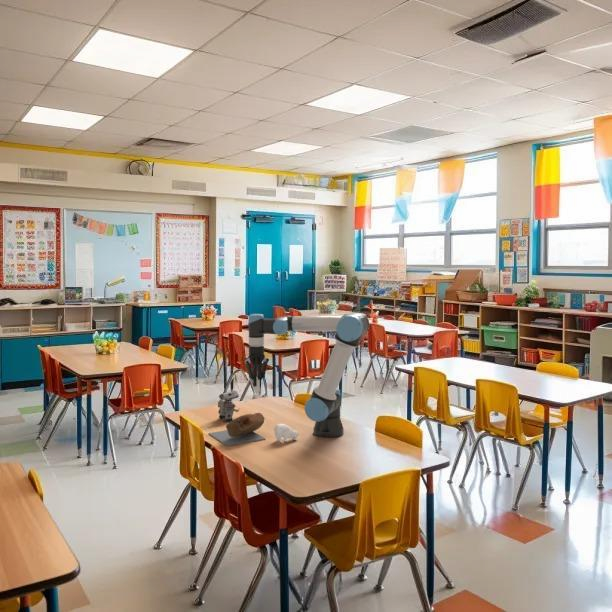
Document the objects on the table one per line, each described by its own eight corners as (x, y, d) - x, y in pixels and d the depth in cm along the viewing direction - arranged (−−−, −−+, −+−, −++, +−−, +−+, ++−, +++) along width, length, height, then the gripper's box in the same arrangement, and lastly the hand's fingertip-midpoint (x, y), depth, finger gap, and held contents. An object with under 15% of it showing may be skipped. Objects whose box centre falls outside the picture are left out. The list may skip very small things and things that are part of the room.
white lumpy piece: (273, 422, 286) (296, 422, 291) (271, 440, 287) (294, 439, 292) (278, 426, 280) (301, 425, 285) (276, 443, 281) (299, 443, 286)
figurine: (242, 419, 323) (242, 392, 322) (222, 422, 317) (222, 394, 316) (235, 415, 331) (235, 389, 329) (216, 418, 325) (215, 391, 323)
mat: (265, 439, 288) (265, 438, 288) (227, 446, 278) (227, 445, 278) (245, 428, 307) (245, 427, 307) (208, 434, 296) (208, 433, 296)
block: (253, 432, 301) (229, 439, 283) (246, 419, 303) (222, 425, 285) (268, 422, 296) (244, 428, 279) (261, 409, 299) (237, 414, 281)
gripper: (264, 343, 301) (265, 389, 303) (241, 345, 294) (242, 392, 296) (271, 345, 294) (272, 392, 296) (247, 347, 288) (248, 395, 289)
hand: (257, 392), depth 296 cm, fingers closed
